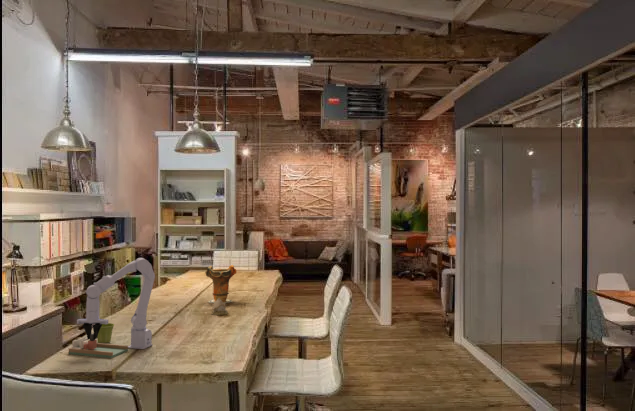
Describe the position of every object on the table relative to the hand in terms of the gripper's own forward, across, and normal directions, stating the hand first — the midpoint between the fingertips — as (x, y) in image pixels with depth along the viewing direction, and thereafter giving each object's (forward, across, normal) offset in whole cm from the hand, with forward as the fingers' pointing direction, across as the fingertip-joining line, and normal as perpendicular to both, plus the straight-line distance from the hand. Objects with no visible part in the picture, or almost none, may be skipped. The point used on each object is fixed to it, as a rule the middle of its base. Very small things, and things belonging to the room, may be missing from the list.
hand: (92, 338), depth 236 cm
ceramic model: (+7, -39, -94) cm, 102 cm away
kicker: (+5, +1, 0) cm, 5 cm away
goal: (+5, +5, -1) cm, 7 cm away
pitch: (+6, -4, +1) cm, 7 cm away
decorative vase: (+6, -30, -135) cm, 138 cm away
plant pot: (+6, +3, -18) cm, 19 cm away
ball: (+3, +5, -1) cm, 6 cm away
